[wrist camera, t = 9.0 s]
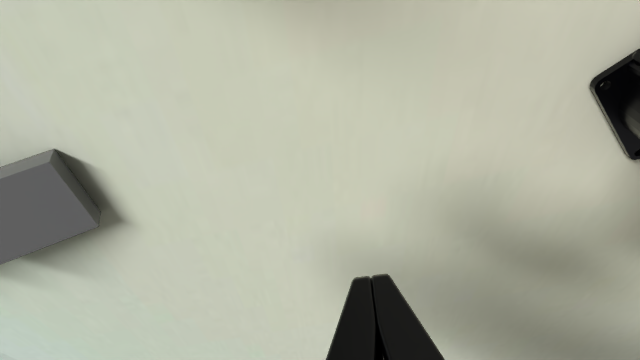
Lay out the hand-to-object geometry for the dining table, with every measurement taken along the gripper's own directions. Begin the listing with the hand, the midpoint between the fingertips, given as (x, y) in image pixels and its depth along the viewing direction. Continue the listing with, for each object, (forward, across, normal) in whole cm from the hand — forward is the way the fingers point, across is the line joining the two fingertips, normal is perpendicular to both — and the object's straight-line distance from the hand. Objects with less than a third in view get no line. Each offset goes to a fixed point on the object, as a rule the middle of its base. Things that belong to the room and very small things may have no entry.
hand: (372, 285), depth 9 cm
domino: (+12, +17, +4) cm, 21 cm away
